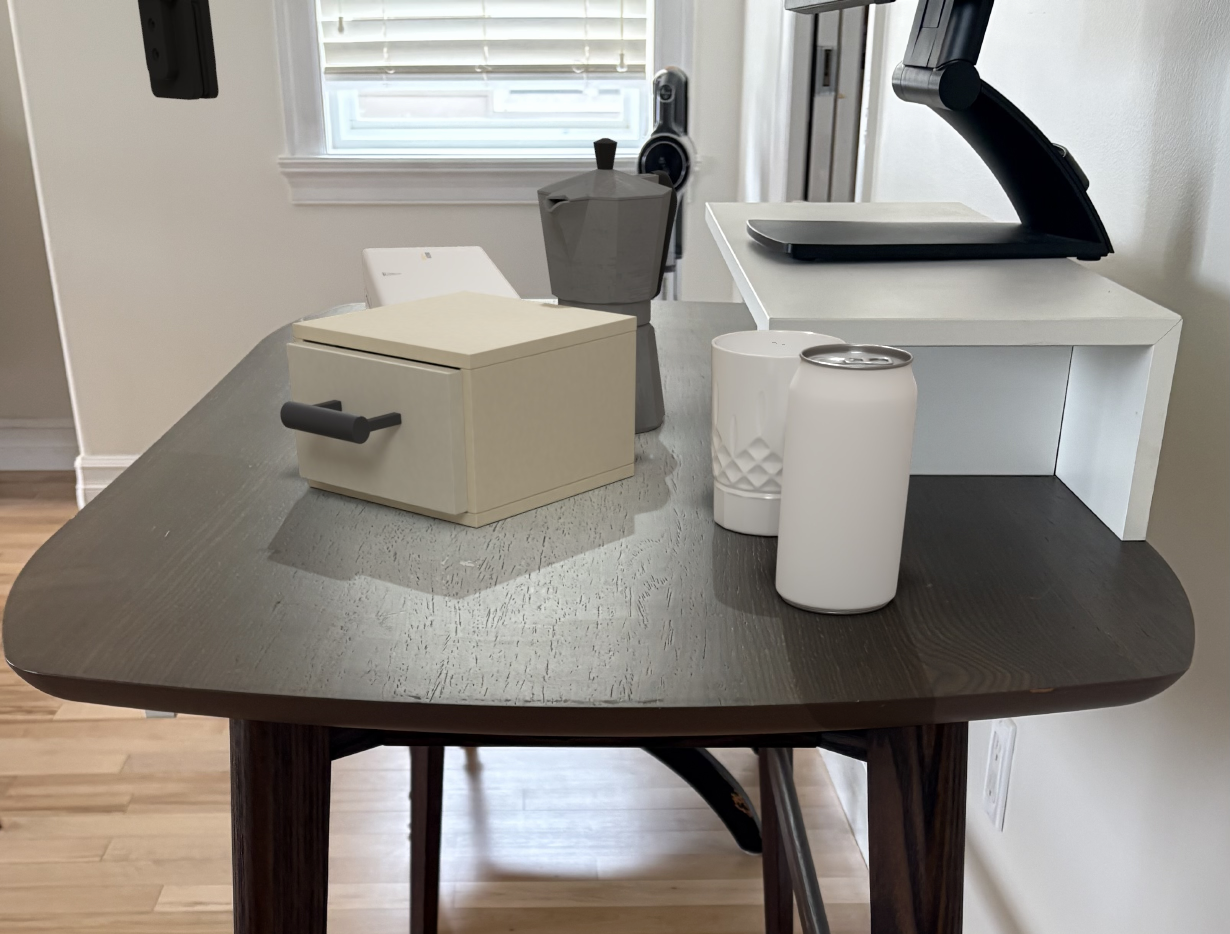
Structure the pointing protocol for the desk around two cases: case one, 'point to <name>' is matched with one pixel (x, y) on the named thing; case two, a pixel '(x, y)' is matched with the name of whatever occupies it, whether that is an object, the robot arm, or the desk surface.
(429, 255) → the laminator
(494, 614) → the desk surface
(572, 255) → the coffeepot
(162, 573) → the desk surface
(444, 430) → the drawer
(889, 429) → the can
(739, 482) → the white cup
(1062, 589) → the desk surface
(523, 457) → the cabinet
